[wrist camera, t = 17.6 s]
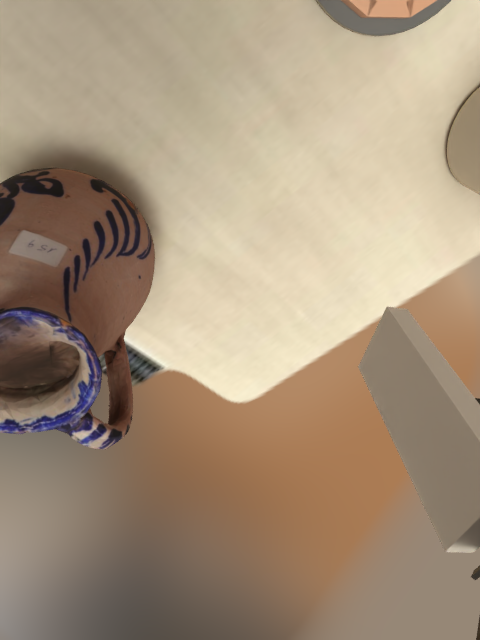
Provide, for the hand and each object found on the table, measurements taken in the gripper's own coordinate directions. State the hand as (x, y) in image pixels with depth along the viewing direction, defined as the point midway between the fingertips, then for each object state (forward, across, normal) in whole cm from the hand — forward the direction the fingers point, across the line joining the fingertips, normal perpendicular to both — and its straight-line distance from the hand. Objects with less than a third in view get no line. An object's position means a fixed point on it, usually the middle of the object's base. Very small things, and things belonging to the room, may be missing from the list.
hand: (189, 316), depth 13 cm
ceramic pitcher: (+35, -11, -14) cm, 39 cm away
